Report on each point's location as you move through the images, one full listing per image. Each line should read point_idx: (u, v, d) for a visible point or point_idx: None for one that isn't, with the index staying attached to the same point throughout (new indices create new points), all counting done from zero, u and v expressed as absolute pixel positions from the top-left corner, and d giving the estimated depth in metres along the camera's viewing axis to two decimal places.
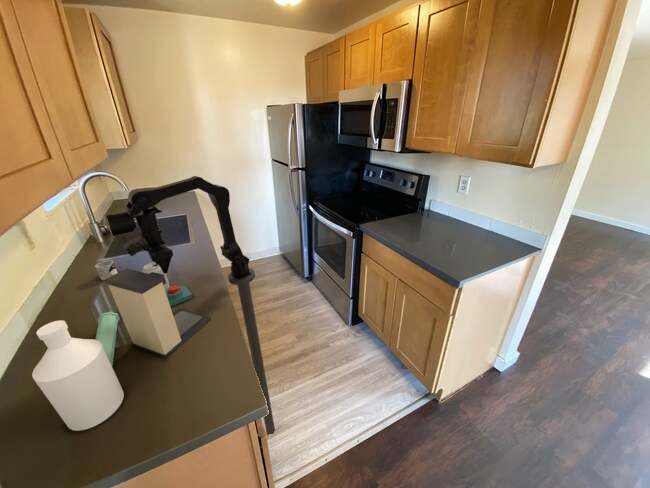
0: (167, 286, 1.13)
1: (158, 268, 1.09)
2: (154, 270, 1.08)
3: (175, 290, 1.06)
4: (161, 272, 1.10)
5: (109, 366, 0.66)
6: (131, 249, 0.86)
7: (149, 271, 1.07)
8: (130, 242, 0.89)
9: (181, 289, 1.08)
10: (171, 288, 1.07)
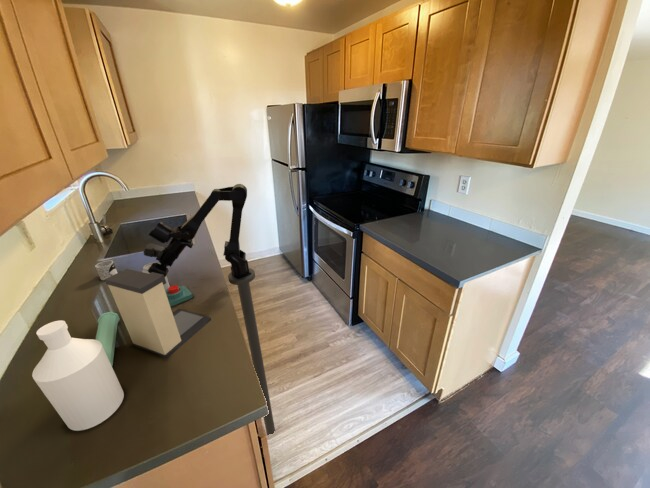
0: (167, 286, 1.13)
1: None
2: None
3: (175, 290, 1.06)
4: None
5: (109, 366, 0.66)
6: (147, 251, 1.03)
7: None
8: (154, 246, 1.08)
9: (181, 289, 1.08)
10: (171, 288, 1.07)
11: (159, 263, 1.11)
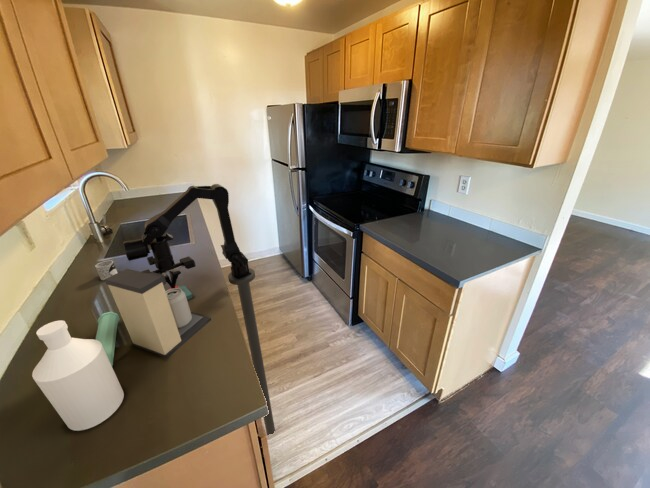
0: None
1: (182, 292, 0.90)
2: (182, 295, 0.89)
3: None
4: None
5: (109, 366, 0.66)
6: None
7: (179, 298, 0.88)
8: None
9: (181, 289, 1.08)
10: None
11: (175, 288, 0.91)
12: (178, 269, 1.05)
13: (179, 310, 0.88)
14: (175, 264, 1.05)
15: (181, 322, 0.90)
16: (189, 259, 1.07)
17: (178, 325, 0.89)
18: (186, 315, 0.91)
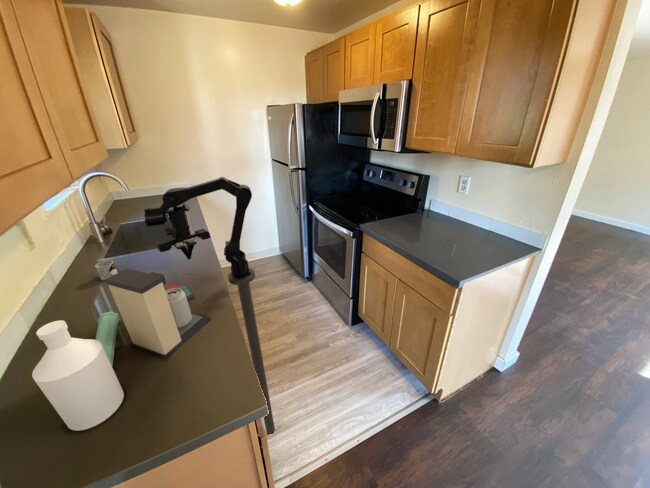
0: None
1: (182, 292, 0.90)
2: (182, 295, 0.89)
3: None
4: None
5: (109, 366, 0.66)
6: (165, 231, 1.09)
7: (179, 298, 0.88)
8: None
9: (181, 289, 1.08)
10: (171, 288, 1.07)
11: (175, 288, 0.91)
12: (194, 240, 1.09)
13: (179, 310, 0.88)
14: (191, 235, 1.09)
15: (181, 322, 0.90)
16: (204, 231, 1.11)
17: (178, 325, 0.89)
18: (186, 315, 0.91)
